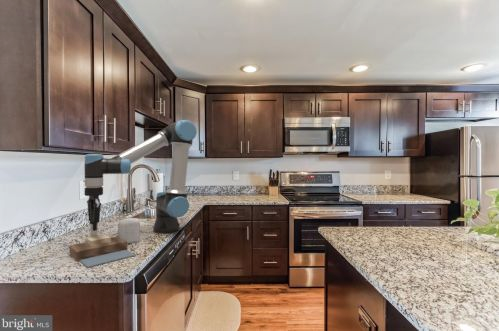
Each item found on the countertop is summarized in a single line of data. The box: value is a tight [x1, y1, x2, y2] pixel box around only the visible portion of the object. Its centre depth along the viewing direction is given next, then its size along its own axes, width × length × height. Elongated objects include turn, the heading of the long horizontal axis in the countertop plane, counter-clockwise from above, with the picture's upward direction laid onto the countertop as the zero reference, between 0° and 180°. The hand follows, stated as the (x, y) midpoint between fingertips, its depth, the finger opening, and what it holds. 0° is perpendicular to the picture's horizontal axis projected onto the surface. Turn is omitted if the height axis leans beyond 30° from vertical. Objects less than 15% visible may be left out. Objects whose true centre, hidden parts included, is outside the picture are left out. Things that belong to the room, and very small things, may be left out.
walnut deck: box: [68, 235, 128, 262], centre depth 118 cm, size 20×12×4 cm, turn 137°
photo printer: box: [117, 217, 141, 244], centre depth 133 cm, size 10×4×12 cm, turn 123°
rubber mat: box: [79, 249, 136, 269], centre depth 111 cm, size 18×10×1 cm, turn 137°
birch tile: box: [85, 233, 112, 247], centre depth 119 cm, size 8×8×2 cm
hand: (93, 236), depth 123 cm, fingers closed
